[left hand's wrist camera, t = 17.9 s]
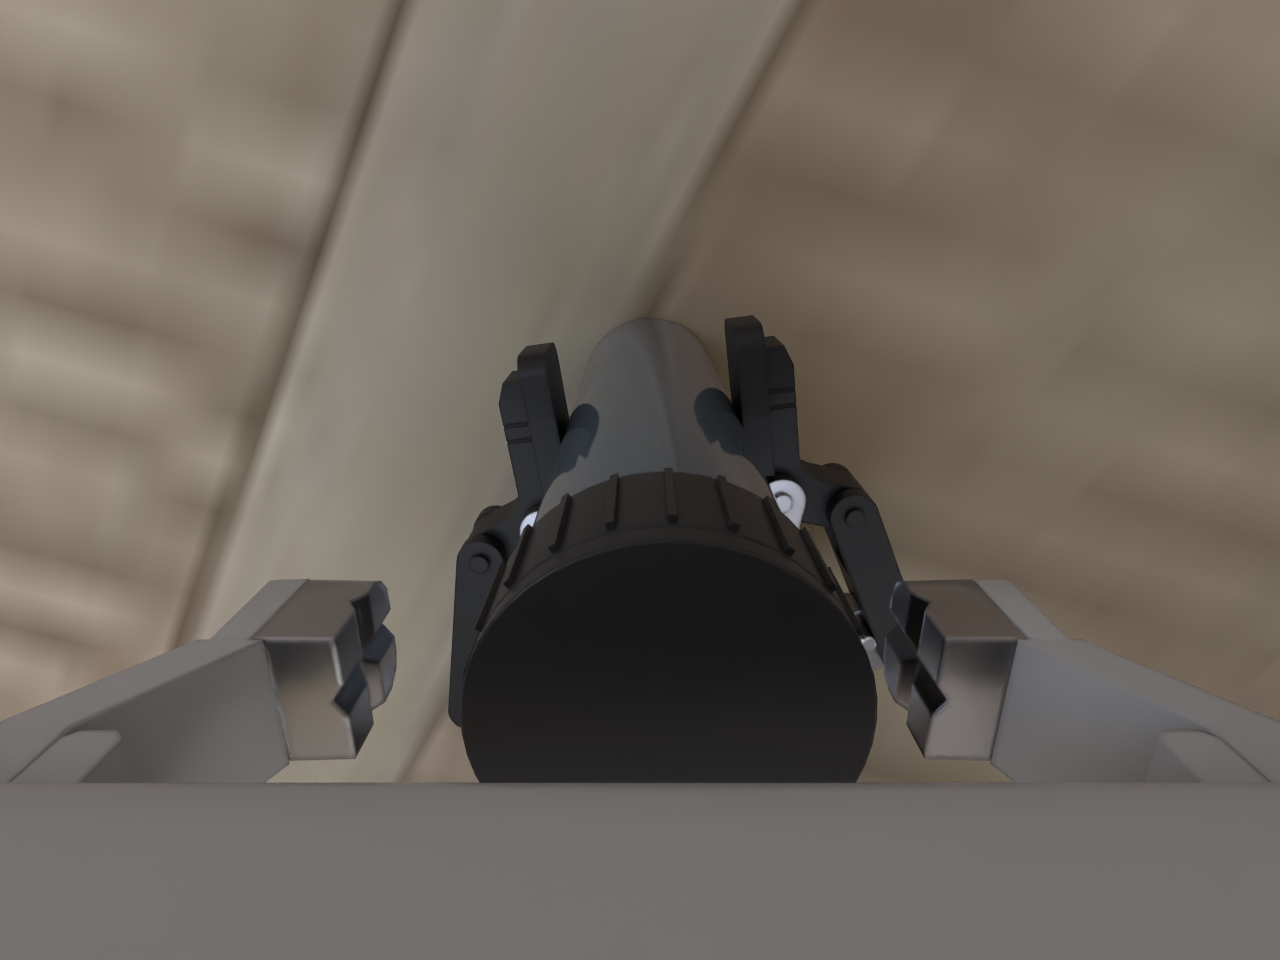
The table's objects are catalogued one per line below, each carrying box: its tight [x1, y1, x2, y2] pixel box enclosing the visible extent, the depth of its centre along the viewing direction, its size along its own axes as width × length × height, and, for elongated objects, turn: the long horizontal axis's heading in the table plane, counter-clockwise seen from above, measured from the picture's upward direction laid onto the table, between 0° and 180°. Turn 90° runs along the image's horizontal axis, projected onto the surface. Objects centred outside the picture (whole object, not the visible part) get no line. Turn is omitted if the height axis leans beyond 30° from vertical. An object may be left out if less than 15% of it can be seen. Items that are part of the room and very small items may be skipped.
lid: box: [460, 468, 877, 783], centre depth 9 cm, size 5×5×2 cm
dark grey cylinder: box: [533, 318, 783, 525], centre depth 17 cm, size 4×4×17 cm
